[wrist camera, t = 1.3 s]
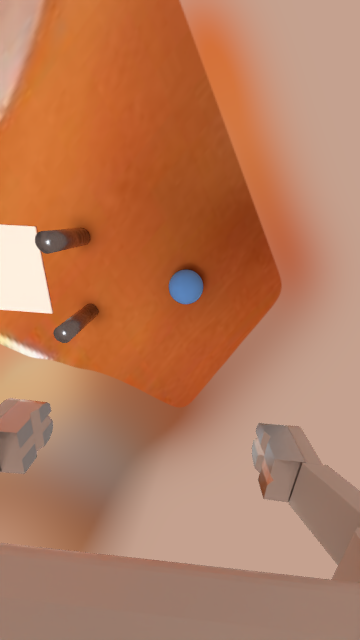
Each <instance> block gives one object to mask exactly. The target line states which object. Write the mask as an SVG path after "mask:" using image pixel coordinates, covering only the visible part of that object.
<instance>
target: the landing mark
mask: <svg viewBox="0 0 360 640" xmlns="http://www.w3.org/2000/svg"><path fill="white" fill-rule="evenodd" d="M36 234H37V229H36V227H35V226H17V225H0V310H13V311H26V312H39V313H53V311H52V306H51V300H50V295H49V290H48V285H47V280H46V275H45V270H44V265H43V259H42V254H41V251H40V250H39V249H38V247H37V246H36V243H35V236H36Z"/></svg>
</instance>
